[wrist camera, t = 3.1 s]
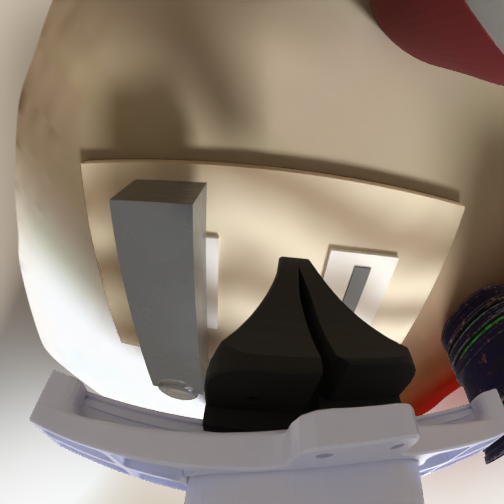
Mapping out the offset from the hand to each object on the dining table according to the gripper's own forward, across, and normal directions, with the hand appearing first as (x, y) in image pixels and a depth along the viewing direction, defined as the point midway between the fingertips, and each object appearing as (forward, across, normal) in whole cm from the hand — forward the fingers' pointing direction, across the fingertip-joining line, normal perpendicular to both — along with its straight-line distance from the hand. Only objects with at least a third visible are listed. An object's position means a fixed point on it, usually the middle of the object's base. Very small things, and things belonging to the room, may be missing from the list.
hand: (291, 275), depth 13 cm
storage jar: (+6, -22, +8) cm, 25 cm away
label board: (+6, 0, +5) cm, 8 cm away
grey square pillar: (+4, +6, +5) cm, 10 cm away
